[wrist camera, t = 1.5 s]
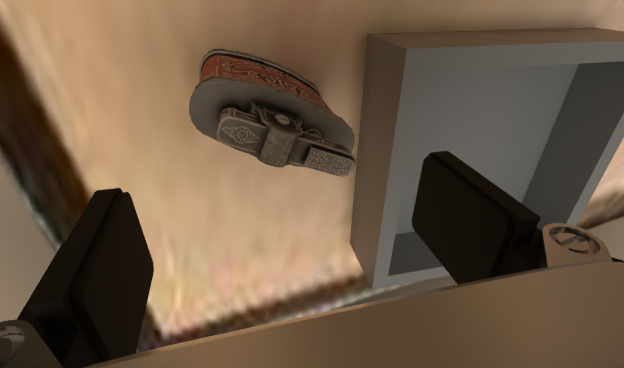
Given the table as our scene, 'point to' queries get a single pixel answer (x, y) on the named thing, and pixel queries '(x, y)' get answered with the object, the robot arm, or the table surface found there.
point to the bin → (482, 128)
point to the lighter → (269, 114)
